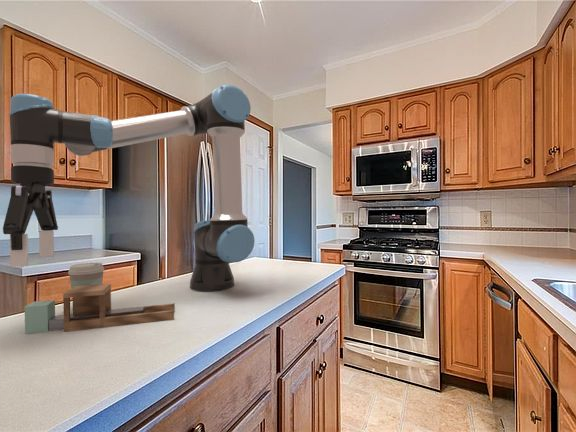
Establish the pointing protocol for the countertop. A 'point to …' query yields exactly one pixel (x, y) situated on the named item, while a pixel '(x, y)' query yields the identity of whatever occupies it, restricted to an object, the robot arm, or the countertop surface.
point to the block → (39, 316)
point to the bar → (91, 316)
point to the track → (100, 300)
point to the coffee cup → (86, 274)
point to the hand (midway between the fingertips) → (34, 261)
